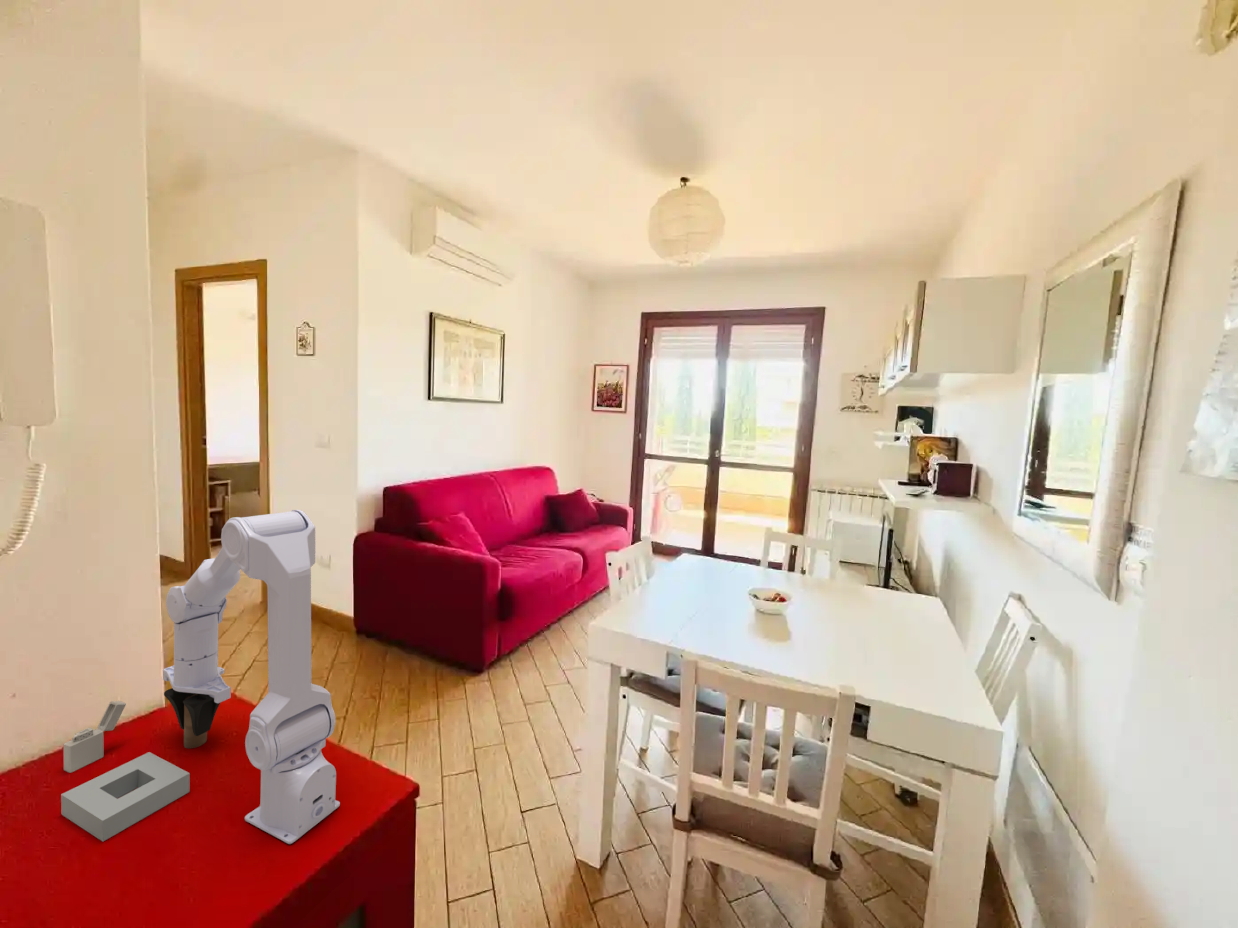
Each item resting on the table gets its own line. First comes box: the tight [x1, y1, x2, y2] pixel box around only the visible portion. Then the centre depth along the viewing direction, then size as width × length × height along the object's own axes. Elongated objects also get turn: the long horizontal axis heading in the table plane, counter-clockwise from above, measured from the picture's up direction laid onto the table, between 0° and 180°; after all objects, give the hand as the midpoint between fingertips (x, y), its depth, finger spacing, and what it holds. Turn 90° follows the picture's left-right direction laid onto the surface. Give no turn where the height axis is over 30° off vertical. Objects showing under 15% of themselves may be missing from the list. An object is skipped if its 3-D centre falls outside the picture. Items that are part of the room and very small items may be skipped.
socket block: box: [60, 751, 191, 842], centre depth 73 cm, size 10×10×3 cm
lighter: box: [63, 700, 127, 773], centre depth 81 cm, size 7×2×8 cm, turn 163°
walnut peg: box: [183, 694, 208, 749], centre depth 87 cm, size 3×3×8 cm
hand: (195, 729), depth 87 cm, fingers closed on walnut peg, 3 cm apart
